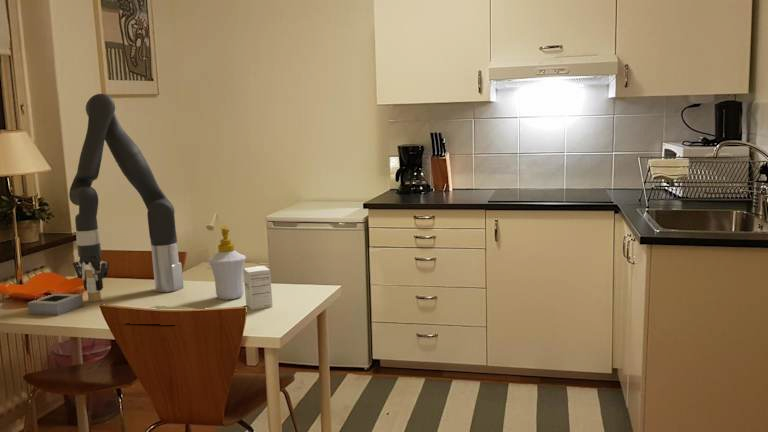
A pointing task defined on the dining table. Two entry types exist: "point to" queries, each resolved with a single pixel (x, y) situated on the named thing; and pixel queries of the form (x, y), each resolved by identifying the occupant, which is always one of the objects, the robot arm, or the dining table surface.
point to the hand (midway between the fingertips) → (93, 289)
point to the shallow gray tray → (55, 304)
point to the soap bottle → (228, 269)
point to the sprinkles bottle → (91, 285)
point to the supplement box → (258, 287)
